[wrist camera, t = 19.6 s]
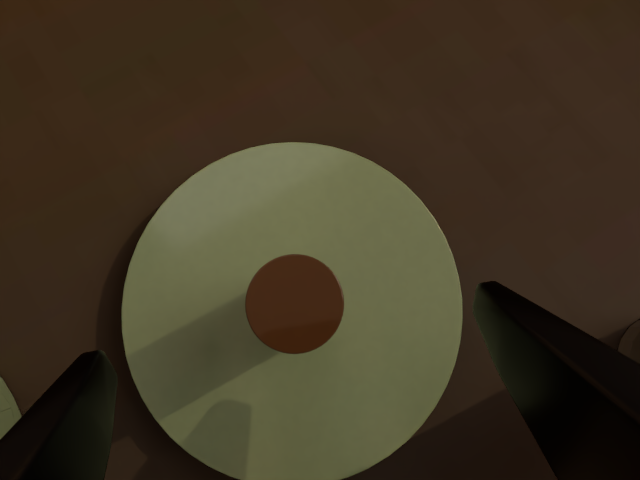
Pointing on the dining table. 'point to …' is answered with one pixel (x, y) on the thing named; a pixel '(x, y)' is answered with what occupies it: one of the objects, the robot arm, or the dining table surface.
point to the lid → (291, 313)
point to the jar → (7, 409)
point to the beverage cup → (631, 342)
